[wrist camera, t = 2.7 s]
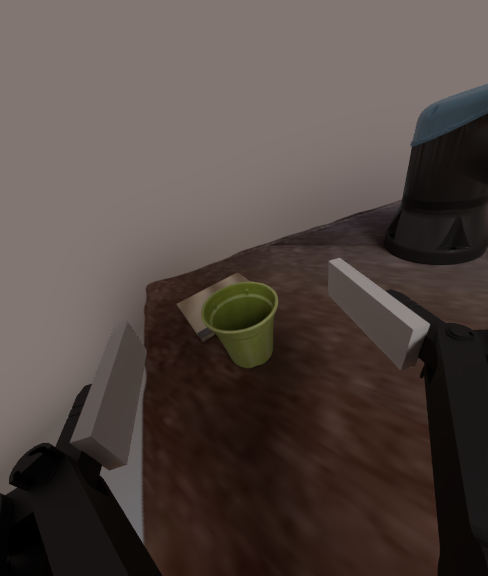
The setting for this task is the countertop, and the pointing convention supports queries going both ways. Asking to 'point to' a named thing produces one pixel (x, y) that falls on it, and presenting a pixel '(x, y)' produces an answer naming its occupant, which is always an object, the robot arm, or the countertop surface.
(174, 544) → the countertop surface
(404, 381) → the countertop surface
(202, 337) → the board
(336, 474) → the countertop surface
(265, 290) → the plant pot
